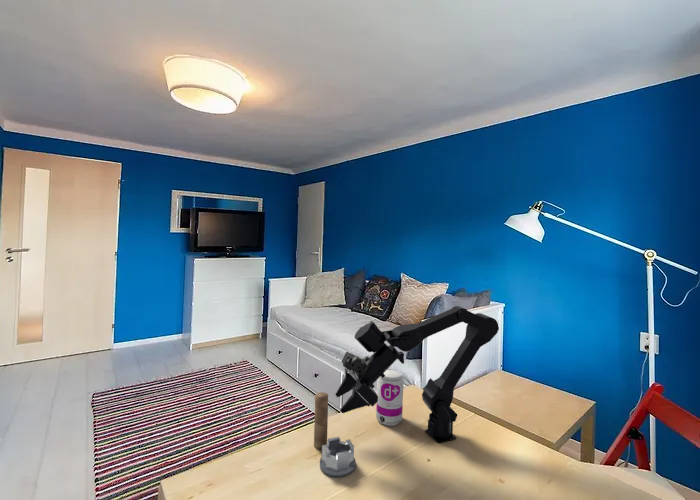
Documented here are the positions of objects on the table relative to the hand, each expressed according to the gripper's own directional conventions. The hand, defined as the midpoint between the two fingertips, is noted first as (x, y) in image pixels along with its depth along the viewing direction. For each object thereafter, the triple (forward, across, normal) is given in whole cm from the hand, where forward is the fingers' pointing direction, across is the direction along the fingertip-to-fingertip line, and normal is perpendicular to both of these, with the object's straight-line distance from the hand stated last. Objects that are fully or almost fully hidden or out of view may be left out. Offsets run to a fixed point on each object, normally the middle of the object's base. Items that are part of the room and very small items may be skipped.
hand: (338, 403), depth 96 cm
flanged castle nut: (+9, +9, +7) cm, 15 cm away
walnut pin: (+11, 0, +5) cm, 12 cm away
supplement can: (-5, -10, +21) cm, 24 cm away
